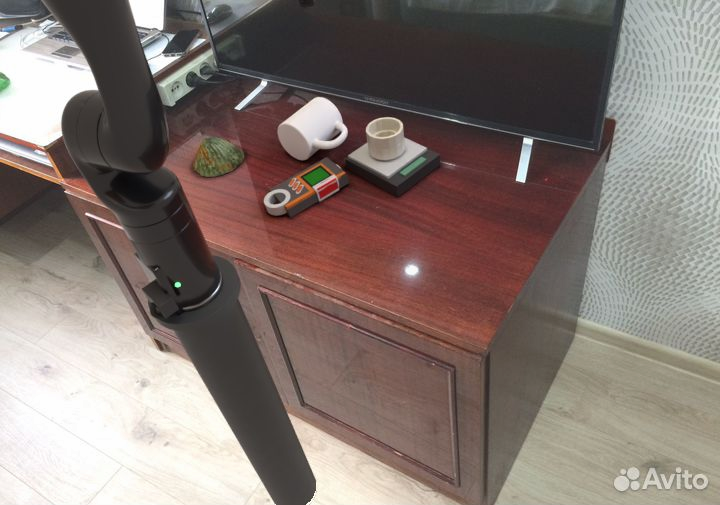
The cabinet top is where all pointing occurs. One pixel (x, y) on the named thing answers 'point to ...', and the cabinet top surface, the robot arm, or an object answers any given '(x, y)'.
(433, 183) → the cabinet top surface
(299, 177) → the electronic device
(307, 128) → the mug
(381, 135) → the beige cylindrical cup
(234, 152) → the seashell
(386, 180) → the scale
